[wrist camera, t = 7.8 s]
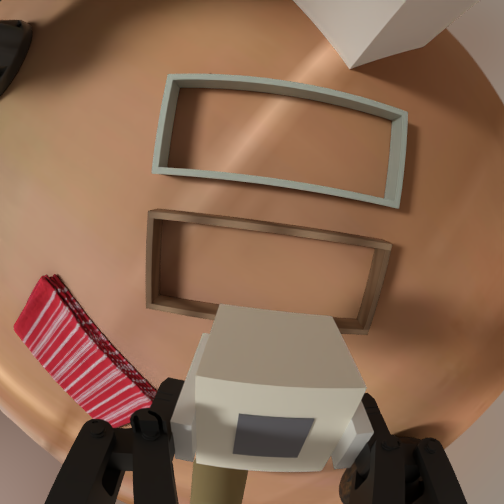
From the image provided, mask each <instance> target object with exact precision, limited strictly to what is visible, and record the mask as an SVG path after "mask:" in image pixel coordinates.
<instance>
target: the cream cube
mask: <svg viewBox="0 0 504 504" xmlns="http://www.w3.org/2000/svg"><path fill="white" fill-rule="evenodd" d="M366 389H367V387H366V385H365V383H364V381H363V379H362V376H361V374H360V372H359V370H358V368H357V366H356V364H355V362H354V360H353V358H352V356H351V354H350V352H349V349H348V347H347V345H346V343H345V341H344V339H343V337H342V335H341V333H340V331H339V329H338V327H337V325H336V323H335V321H334V319H333V317H332V316H325V315H313V314H303V313H293V312H283V311H274V310H266V309H257V308H249V307H242V306H234V305H227V304H220V305H219V308H218V311H217V314H216V316H215V319H214V322H213V325H212V328H211V331H210V334H209V337H208V340H207V343H206V346H205V349H204V352H203V355H202V358H201V361H200V364H199V367H198V370H197V373H196V379H195V409H196V441H197V447H196V463H198V464H204V465H210V466H217V467H224V468H232V469H241V470H253V471H270V472H313V471H321V470H322V469H323V467H324V466H325V464H326V463H327V461H328V459H329V458H330V456H331V454H332V453H333V451H334V449H335V448H336V446H337V444H338V442H339V441H340V439H341V437H342V435H343V433H344V432H345V430H346V428H347V426H348V424H349V422H350V420H351V418H352V417H353V415H354V413H355V411H356V409H357V407H358V405H359V403H360V401H361V399H362V397H363V395H364V393H365V391H366Z"/></svg>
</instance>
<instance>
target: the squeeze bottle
mask: <svg viewBox="0 0 504 504" xmlns="http://www.w3.org/2000/svg"><path fill="white" fill-rule="evenodd" d="M247 474H248V470H241V469H232V468H224V467H217V466H210V465H204V464H198V463H196V458H195V460H194V462H193V474H192V486H191V499H190V504H242V499H243V494H244V489H245V484H246V479H247Z"/></svg>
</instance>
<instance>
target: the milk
mask: <svg viewBox="0 0 504 504" xmlns="http://www.w3.org/2000/svg"><path fill="white" fill-rule="evenodd" d="M293 1H294V2H295V3H296V4H297V5H298V6H299V7H300V9H301V10H302V11H303V12H304V13H305V14H306V15H307V16H308V17H309V18H310V20H311V21H312V22H313V23H314V24H315V25H316V26H317V28H318V29H319V30H320V31H321V32H322V34H323V35H324V36H325V37H326V38H327V40H328V41H329V42H330V44H331V45H332V46H333V47H334V49H335V50H336V51H337V53H338V54H339V55H340V57H341V58H342V59H343V61H344V62H345V64H346V65H347V66H348V68H349V69H352V68H355V67H357V66H360V65H363V64H366V63H369V62H372V61H375V60H378V59H381V58H385V57H388V56H391V55H395V54H398V53H402V52H405V51H409V50H413V49H417V48H421V47H424V46H425V45H426V44H427V43H429V42H430V41H431V40H432V39H433V38H435V37H436V36H437V35H438V34H439V33H441V32H442V31H443V30H444V29H445V28H447V27H448V26H449V25H450V24H451V23H453V22H454V21H455V20H456V19H457V18H459V17H460V16H461V15H462V14H464V13H465V12H466V11H467V10H469V9H470V8H471V7H473V6H474V5H475V4H476V3H478V2H479V1H480V0H293Z"/></svg>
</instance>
